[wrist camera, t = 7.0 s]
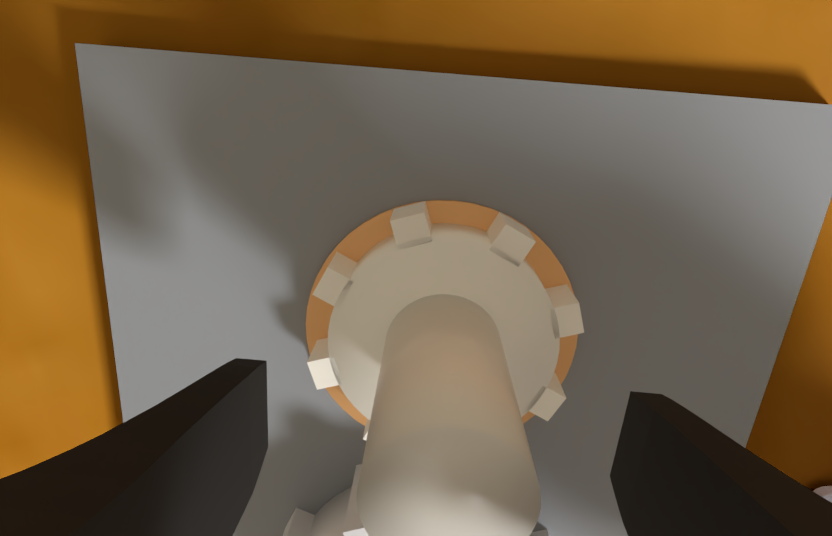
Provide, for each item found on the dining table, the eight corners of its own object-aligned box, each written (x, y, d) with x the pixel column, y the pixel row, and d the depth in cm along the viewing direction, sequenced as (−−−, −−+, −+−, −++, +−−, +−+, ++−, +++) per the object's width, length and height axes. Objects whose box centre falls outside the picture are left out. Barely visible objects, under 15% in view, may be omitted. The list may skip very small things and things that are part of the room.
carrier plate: (831, 105, 13) (1027, 115, 9) (648, 667, 19) (708, 830, 15) (100, 46, 13) (-63, 27, 9) (166, 625, 20) (92, 775, 15)
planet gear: (594, 225, 13) (729, 343, 7) (537, 444, 15) (603, 675, 9) (329, 187, 13) (241, 274, 7) (310, 413, 15) (231, 626, 9)
